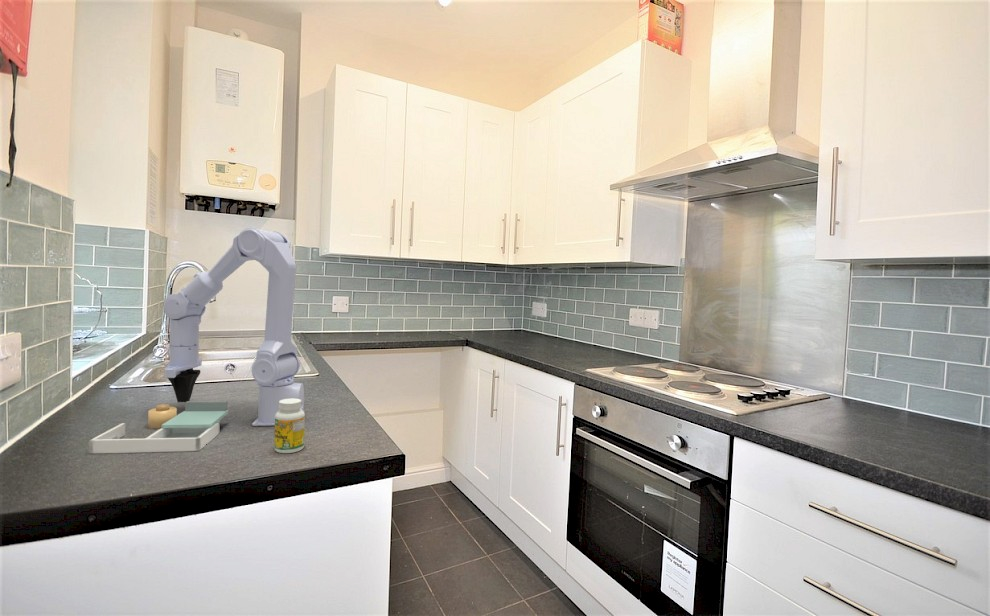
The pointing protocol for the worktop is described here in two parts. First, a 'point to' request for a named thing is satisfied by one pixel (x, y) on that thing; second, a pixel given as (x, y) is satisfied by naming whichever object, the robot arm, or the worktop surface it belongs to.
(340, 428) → the worktop surface
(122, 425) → the housing
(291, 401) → the supplement bottle
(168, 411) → the domed oval button
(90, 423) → the worktop surface
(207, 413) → the lid
